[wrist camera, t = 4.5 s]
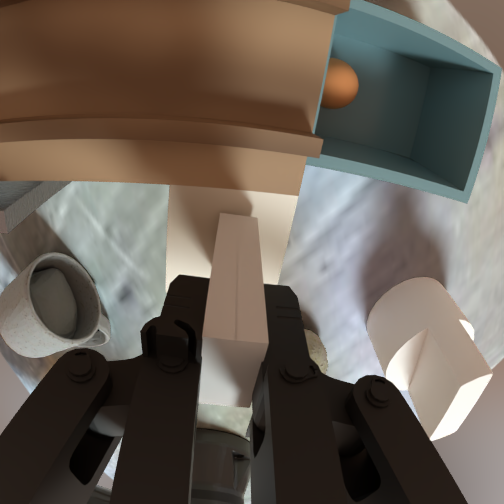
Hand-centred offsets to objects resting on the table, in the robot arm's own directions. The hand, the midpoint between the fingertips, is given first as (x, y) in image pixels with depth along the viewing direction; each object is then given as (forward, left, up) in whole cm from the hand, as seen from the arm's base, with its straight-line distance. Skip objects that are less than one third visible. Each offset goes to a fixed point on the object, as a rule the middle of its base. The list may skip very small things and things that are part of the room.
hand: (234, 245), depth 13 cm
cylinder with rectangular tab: (-11, -18, -10) cm, 23 cm away
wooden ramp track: (+5, +11, 0) cm, 12 cm away
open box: (+7, -7, -10) cm, 14 cm away
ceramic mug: (-13, +14, -10) cm, 22 cm away
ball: (+7, -4, -8) cm, 11 cm away
